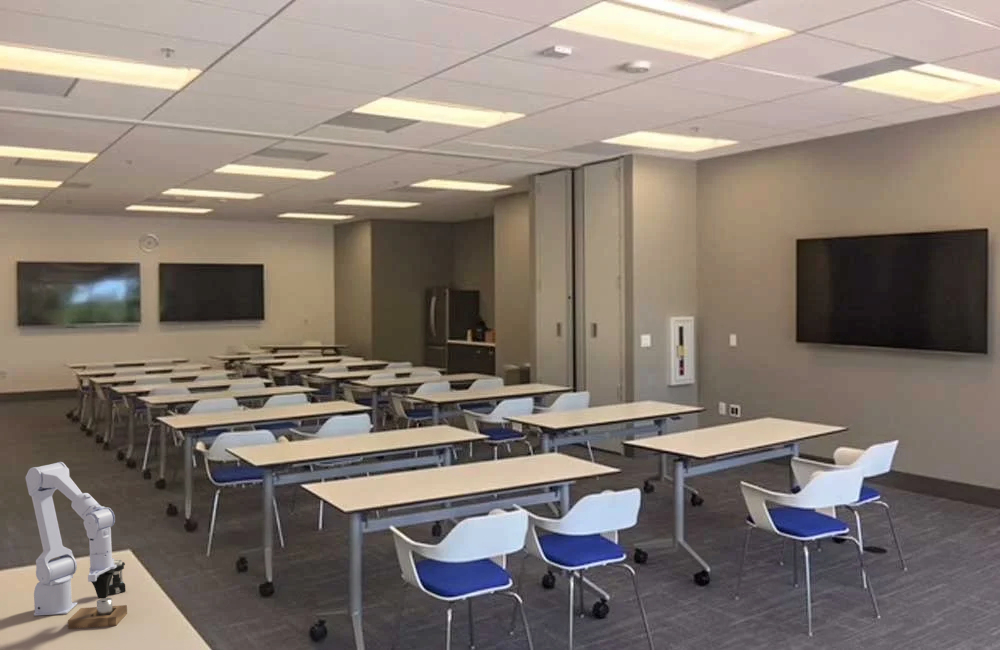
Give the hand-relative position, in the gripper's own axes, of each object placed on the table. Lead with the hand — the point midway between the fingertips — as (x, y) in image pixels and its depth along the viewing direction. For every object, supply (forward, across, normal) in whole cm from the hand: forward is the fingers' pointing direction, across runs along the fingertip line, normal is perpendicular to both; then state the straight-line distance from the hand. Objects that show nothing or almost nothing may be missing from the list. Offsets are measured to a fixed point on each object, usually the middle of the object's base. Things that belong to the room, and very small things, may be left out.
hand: (102, 597), depth 235 cm
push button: (+7, +23, +5) cm, 25 cm away
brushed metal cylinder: (+7, 0, 0) cm, 7 cm away
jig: (+7, 0, +2) cm, 7 cm away
